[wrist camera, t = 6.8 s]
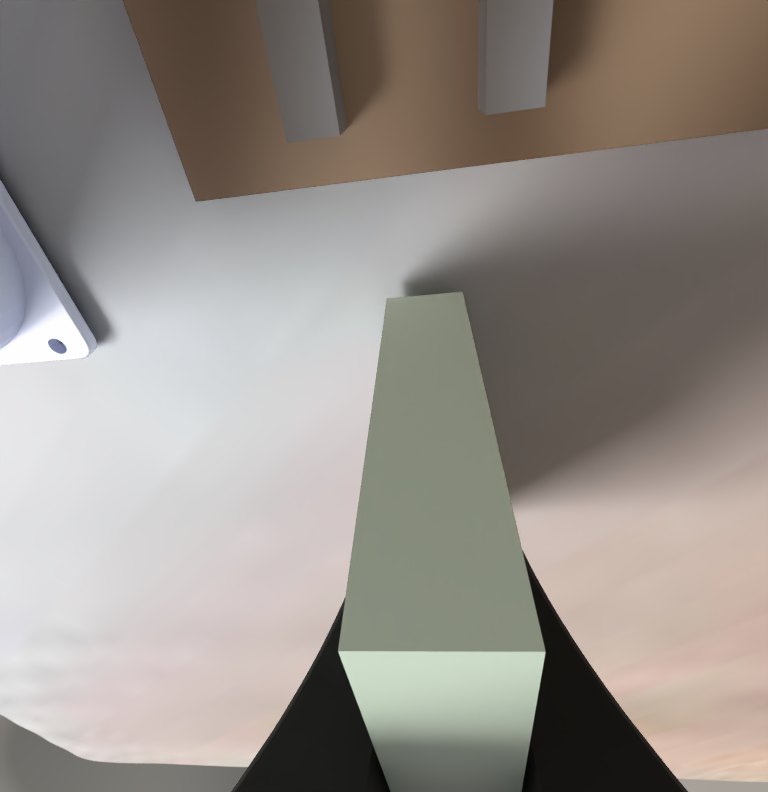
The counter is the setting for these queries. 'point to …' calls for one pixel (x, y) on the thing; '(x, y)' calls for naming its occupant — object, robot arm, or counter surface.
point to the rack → (439, 82)
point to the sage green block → (439, 569)
